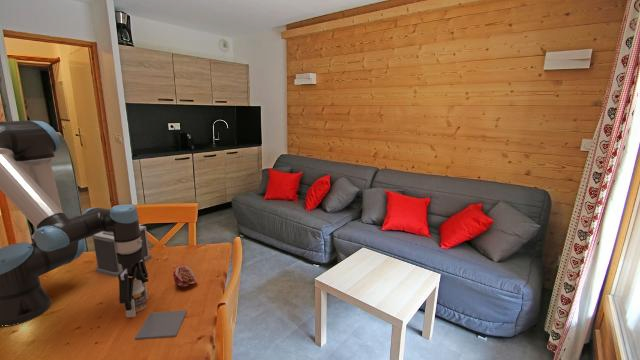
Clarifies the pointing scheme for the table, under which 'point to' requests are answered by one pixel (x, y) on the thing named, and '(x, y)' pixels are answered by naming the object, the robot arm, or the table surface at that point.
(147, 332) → the slate coaster
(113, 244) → the grey box
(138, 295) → the pill bottle
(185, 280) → the flower
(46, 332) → the table surface
